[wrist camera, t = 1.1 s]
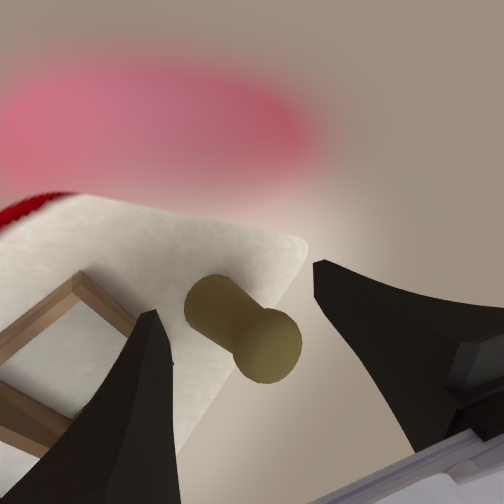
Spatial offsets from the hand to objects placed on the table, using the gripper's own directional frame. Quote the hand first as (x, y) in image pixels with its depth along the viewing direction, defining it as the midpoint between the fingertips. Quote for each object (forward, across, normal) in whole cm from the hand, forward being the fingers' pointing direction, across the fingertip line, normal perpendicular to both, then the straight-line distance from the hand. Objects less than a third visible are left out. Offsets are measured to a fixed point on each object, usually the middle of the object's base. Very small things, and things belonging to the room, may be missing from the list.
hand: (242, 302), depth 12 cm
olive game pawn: (+13, +1, +10) cm, 16 cm away
